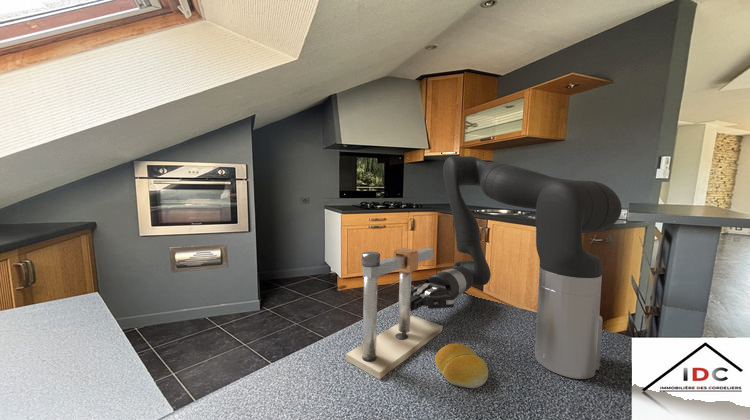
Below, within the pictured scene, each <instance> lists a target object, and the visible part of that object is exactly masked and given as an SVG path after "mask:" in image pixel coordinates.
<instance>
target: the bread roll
mask: <svg viewBox="0 0 750 420" xmlns="http://www.w3.org/2000/svg"><path fill="white" fill-rule="evenodd" d="M434 361H435V362H434V363H435V365H436V368H437V369H438V371H439V372H440V373H441V374H442V375H443V378H444V379H445V380H446V382H448V383H449V384H451V385H454V386H457V387H461V388H467V389H476V388H479V387H481V386H484V384H485V383H486V382H487V380H488V377H489V368H488V365H487V363H486V361H485V360H484V359H482V358H481V357H479V356H478V355H477V354H476V352H475V351H474V350H473V349H471V348H470V347H469V346H467V345H465V344H461V343H449V344H446V345H444V346H443V347H441V348H440V349H439V350H438V351H437V352H436V353H435V357H434Z"/></svg>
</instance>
